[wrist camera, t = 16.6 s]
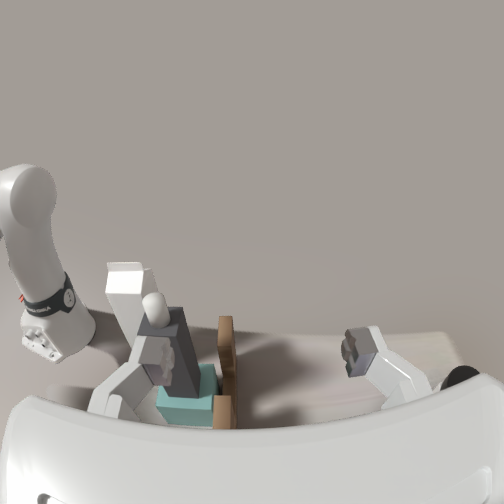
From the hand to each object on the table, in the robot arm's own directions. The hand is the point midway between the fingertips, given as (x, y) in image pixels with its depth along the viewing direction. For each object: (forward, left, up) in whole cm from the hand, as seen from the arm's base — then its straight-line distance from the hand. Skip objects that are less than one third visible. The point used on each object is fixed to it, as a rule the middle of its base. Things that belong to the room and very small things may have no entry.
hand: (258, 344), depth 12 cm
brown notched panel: (-4, +12, -32) cm, 34 cm away
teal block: (-10, +12, -32) cm, 36 cm away
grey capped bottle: (-10, +12, -25) cm, 30 cm away
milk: (-18, +22, -32) cm, 43 cm away
